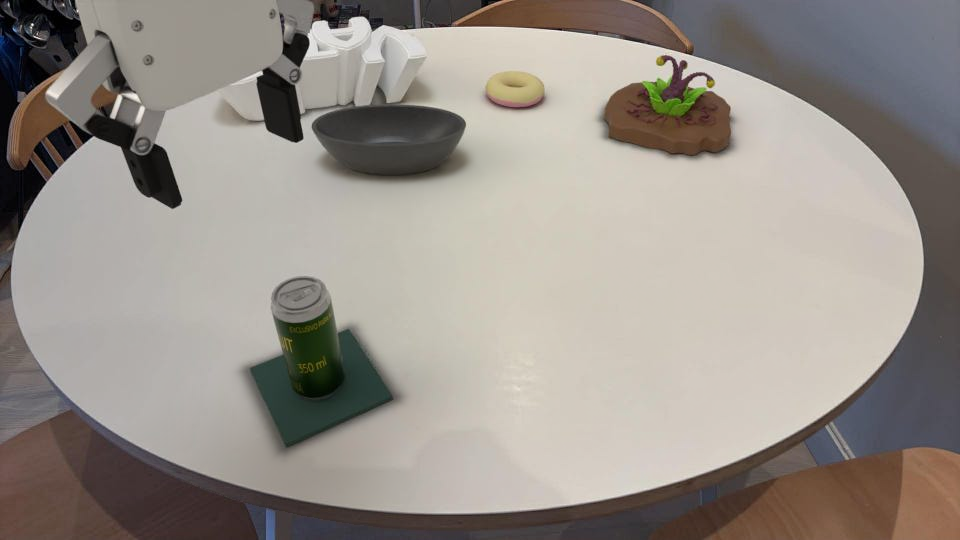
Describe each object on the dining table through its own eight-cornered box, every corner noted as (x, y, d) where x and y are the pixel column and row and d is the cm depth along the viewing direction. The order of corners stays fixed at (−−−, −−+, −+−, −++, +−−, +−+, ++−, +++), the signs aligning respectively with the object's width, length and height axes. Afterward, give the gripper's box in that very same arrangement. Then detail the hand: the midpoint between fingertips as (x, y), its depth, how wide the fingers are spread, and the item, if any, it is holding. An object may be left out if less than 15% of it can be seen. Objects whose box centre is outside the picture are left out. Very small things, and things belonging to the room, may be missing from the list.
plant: (613, 88, 122) (621, 25, 115) (728, 102, 118) (745, 37, 111) (596, 144, 107) (604, 75, 100) (727, 162, 103) (746, 92, 96)
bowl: (465, 184, 99) (464, 146, 95) (310, 183, 99) (303, 145, 95) (467, 141, 108) (467, 104, 104) (325, 140, 108) (320, 104, 104)
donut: (528, 125, 116) (550, 95, 122) (532, 103, 113) (554, 73, 118) (475, 104, 119) (499, 76, 124) (477, 82, 115) (501, 53, 120)
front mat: (286, 447, 65) (285, 444, 65) (250, 370, 72) (249, 367, 72) (393, 399, 69) (392, 395, 69) (349, 331, 77) (348, 328, 76)
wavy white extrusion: (416, 67, 129) (413, 10, 122) (432, 108, 116) (430, 47, 110) (219, 87, 122) (204, 27, 116) (214, 132, 110) (197, 69, 103)
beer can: (332, 354, 73) (314, 267, 66) (355, 387, 70) (339, 299, 62) (283, 376, 71) (259, 288, 63) (304, 411, 68) (281, 323, 60)
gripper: (240, -162, 42) (290, 101, 53) (-73, -109, 31) (71, 207, 42) (328, -148, 38) (362, 130, 49) (10, -83, 28) (144, 253, 39)
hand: (228, 165), depth 46 cm, fingers open, 9 cm apart
